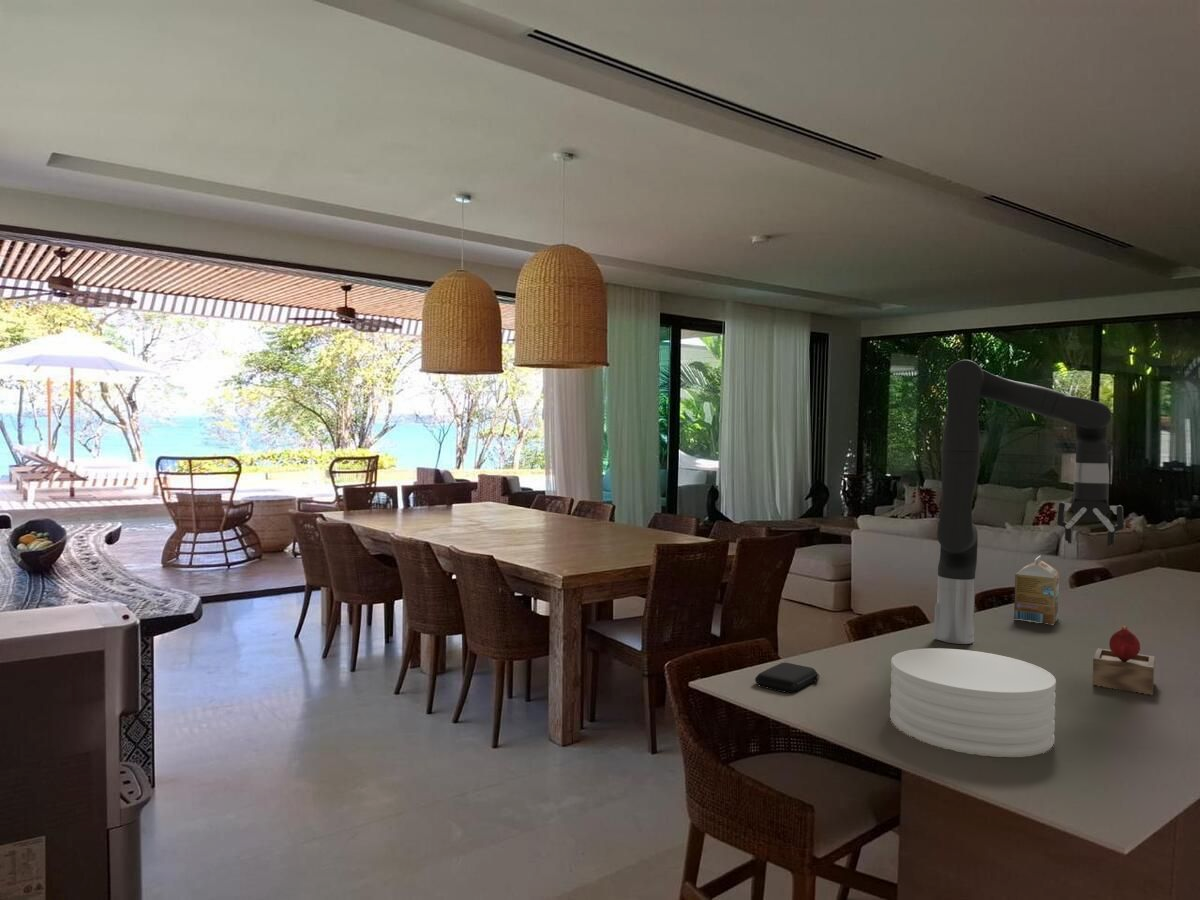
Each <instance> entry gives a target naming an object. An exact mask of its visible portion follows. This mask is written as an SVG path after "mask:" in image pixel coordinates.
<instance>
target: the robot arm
mask: <svg viewBox="0 0 1200 900" xmlns="http://www.w3.org/2000/svg"><path fill="white" fill-rule="evenodd" d="M945 384H946V392H947V393H946V394H947V415H946V422H945V427H944V431H943V432H944V433H943V438H942V439H943V440H942V449H941V494H942V495H941V506H940V507H941V508H940V515H939V521H938V526H937V532H936V538H937V541H938V543H939V545H940V548H939V549H940V550H939V551H940V554H939V562H938V565H937V590H936V591H937V594H936V595H937V597H936V598H937V599H936V600H937V601H936V603H935V604H934V626H933V627H934V634H933V635H934V636H933V639H934V640H938V641H941V642H944V643H949V644H954V645H955V644H957V645H968V644H969V645H970V644H973V643H974V640H975V639H974V637H975V634H974V633H975V599H976V598H975V596H976V593H975V592H976V591H975V590H976V572H977V571H976V570H977V563H978V543H979V541H978V529H977V527H976V525H975V524H974V523H973V516H972V515H973V514H972V512H973V511H972V509H973V506H972V504H973V497H974V494H975V493H974V492H975V489H976V485H977V480H978V476H979V470H980V460H981V459H980V455H981V438H980V437H981V436H980V435H981V434H980V425H979V424H980V423H979V405H980V398H983V399H988V400H992V401H996V402H1000V403H1003V404H1007V405H1010V406H1012V407H1015V408H1018V409H1021V410H1024V411H1027V412H1029V413H1033V414H1037V415H1040V416H1042V417H1045V418H1049V419H1053V420H1058V421H1059V420H1060V421H1065V422H1068V423H1070V424H1073V425H1075V433H1076V434H1075V435H1076V449H1075V465H1074V472H1073V473H1074V474H1073V500H1072V503H1069V502H1064V501H1061V502H1059V504H1058V513H1057V521H1056V523H1057V525H1058V526H1061V527H1063V528H1064V529H1065V532H1064V540H1065V542H1067V544H1073V528H1072V527H1073V526H1074V525H1075V524H1076V523H1077V522H1078V521H1079V520H1081V521H1085V522H1088V521H1091V522H1097V523H1098V522H1099V521H1101V523H1102V524H1103V526H1105V527H1106V528H1107V530H1108V531H1107V543H1106V545H1107V547H1108V548H1111V547H1112V545H1114V544H1115V535H1116V532H1118V531H1122V530H1124V527H1125V525H1124V524H1125V521H1124V520H1125V519H1124V506H1122V505H1121V504H1119V505H1110V504H1109V503H1110V502H1109V491H1110V490H1109V487H1110V484H1109V483H1110V471H1109V470H1110V469H1109V444H1108V442H1107V426H1108V425H1109V423H1110V422H1111V419H1112V412H1111V410H1110V407H1108V406H1107V405H1106V404H1104V403H1103V402H1100V401H1096V400H1093V399H1088V398H1083V397H1079V396H1074V395H1070V394H1067V393H1065V392H1062V391H1059V390H1055V389H1051V388H1047V387H1045V386H1042V385H1041V386H1040V385H1036V384H1032V383H1027V382H1022V381H1015V380H1012V379H1008V378H1004V377H1002V376H999V375H995V374H993V373H991V372H988V371H987V370H985V369H982V367H981V366H980V365H979V364H978V363H977V362H975V361H973V360H970V359H961V360H958V361H956V362H954V363H953V364H951V365H950V366H949V367H948V369H947V371H946V374H945ZM1069 508H1071V510H1072V511H1073V512H1074V514H1075V515H1074V516H1073V517H1071V519H1070V520H1069V521H1068V522H1067V521H1065V513H1066V512H1067V511H1069ZM1110 511H1112V513H1113V514H1114V515H1116V525H1114V524H1113V523H1112V522H1111V521H1110V519H1109V518H1108V517H1107V516H1106V515H1107V514H1108V513H1109V512H1110Z"/></svg>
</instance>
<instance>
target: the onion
mask: <svg viewBox="0 0 1200 900" xmlns="http://www.w3.org/2000/svg"><path fill="white" fill-rule="evenodd" d="M1108 645H1109V650H1111V651H1112V652H1113V654H1114V655H1115V656H1117V657H1118V658H1119V659H1120V660H1121V661H1123V662H1126V661H1128V660H1130V659H1132V658H1134V657H1135V656H1136V655H1137V654H1140V651H1141V644H1140V640H1139V638H1138V637H1137V636H1136V635H1135V634H1134V633H1133V632H1132V631H1130V630H1129V629H1128V627H1127V626H1126V625H1122V627H1121V629H1119V630H1117V631H1115V632H1114V633H1113V634H1112V635H1111V636H1110V638H1109V644H1108Z"/></svg>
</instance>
